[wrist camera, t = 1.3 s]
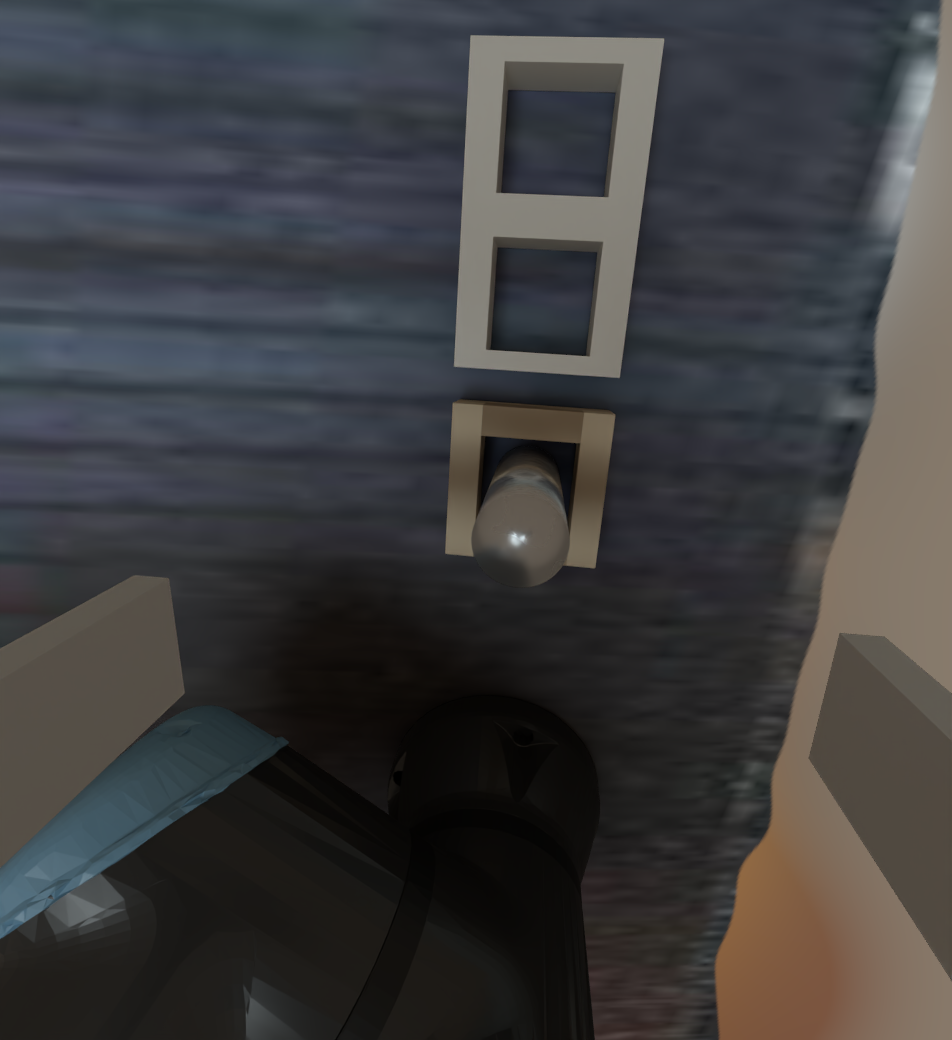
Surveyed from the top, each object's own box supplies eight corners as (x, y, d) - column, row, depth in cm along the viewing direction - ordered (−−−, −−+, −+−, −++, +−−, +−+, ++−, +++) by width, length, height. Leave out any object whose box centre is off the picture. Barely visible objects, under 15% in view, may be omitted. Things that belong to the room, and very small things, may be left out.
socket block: (590, 551, 36) (595, 568, 33) (452, 538, 37) (445, 553, 34) (609, 410, 34) (615, 415, 31) (460, 399, 34) (452, 403, 31)
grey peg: (569, 492, 35) (585, 565, 23) (512, 517, 36) (497, 601, 24) (543, 434, 34) (544, 477, 22) (484, 462, 35) (454, 518, 23)
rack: (612, 376, 33) (619, 377, 30) (461, 365, 34) (454, 366, 31) (651, 70, 29) (664, 38, 26) (477, 66, 30) (470, 35, 27)
